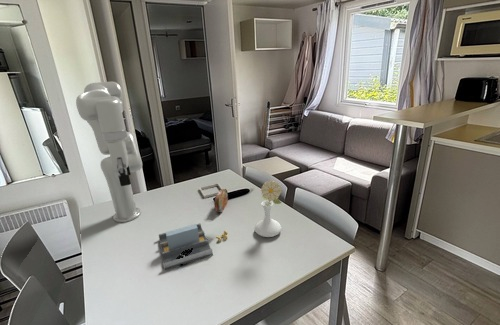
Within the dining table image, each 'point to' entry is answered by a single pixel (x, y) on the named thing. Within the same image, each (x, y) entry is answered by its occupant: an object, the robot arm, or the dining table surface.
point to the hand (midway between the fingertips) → (126, 180)
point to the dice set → (222, 236)
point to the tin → (221, 200)
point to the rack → (197, 253)
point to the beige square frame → (209, 187)
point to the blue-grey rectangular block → (182, 237)
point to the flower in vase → (269, 225)
